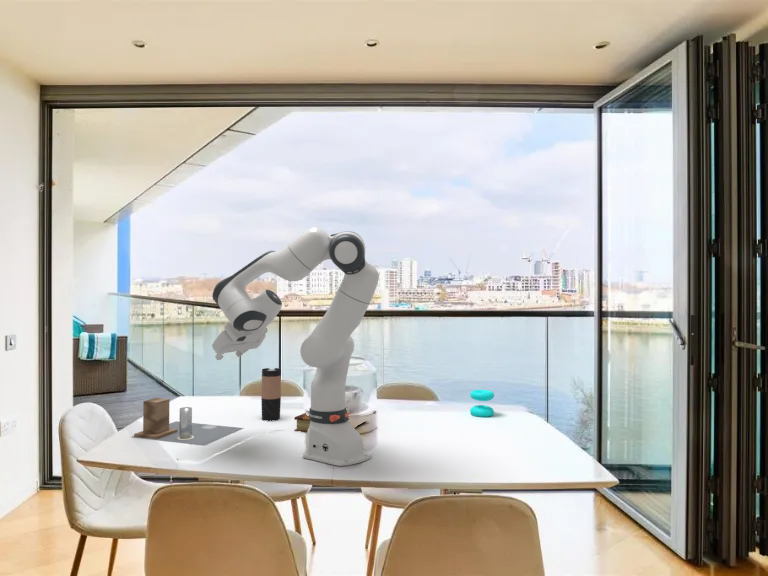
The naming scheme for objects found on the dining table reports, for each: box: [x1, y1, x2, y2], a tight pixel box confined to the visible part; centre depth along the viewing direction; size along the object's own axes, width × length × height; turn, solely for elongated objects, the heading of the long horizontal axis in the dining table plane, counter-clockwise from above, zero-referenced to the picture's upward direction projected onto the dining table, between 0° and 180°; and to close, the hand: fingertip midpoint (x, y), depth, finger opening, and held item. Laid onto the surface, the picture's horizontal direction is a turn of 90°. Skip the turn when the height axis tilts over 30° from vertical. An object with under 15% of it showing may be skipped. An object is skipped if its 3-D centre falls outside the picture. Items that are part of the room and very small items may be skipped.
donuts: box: [469, 389, 495, 418], centre depth 233 cm, size 10×10×10 cm
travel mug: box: [260, 367, 282, 422], centre depth 222 cm, size 8×8×20 cm
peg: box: [179, 406, 193, 439], centre depth 190 cm, size 4×4×10 cm
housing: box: [133, 397, 178, 439], centre depth 194 cm, size 10×10×12 cm
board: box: [131, 420, 245, 447], centre depth 196 cm, size 30×24×1 cm
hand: (228, 356), depth 191 cm, fingers open, 8 cm apart
